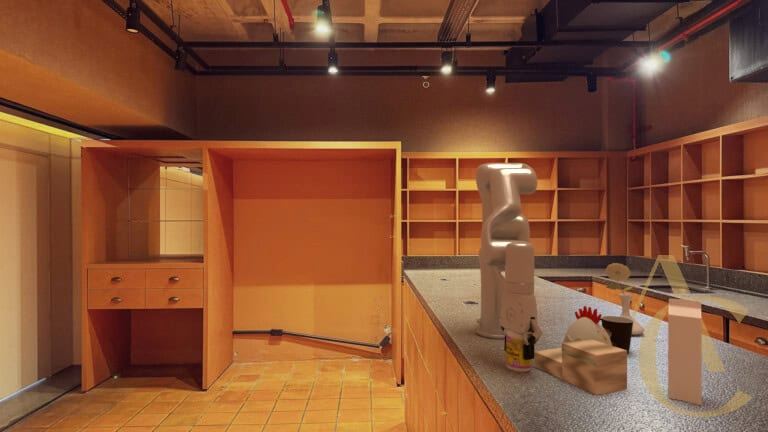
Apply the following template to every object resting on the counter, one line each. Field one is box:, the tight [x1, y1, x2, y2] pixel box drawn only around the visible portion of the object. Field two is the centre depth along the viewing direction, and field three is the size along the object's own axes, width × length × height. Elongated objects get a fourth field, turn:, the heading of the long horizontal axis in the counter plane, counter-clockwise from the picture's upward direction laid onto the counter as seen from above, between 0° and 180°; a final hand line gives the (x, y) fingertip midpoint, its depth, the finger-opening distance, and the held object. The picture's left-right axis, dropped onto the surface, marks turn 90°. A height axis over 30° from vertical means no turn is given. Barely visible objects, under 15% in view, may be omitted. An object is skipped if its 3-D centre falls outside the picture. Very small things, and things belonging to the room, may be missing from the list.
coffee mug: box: [598, 315, 633, 356], centre depth 126 cm, size 12×9×10 cm
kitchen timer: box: [562, 305, 612, 346], centre depth 119 cm, size 14×14×15 cm
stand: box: [532, 339, 628, 396], centre depth 104 cm, size 20×10×9 cm, turn 22°
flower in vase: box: [604, 262, 645, 336], centre depth 147 cm, size 13×11×25 cm
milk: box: [667, 298, 703, 406], centre depth 92 cm, size 6×6×22 cm
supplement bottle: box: [505, 330, 533, 373], centre depth 109 cm, size 7×7×13 cm
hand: (518, 354), depth 109 cm, fingers closed on supplement bottle, 6 cm apart
